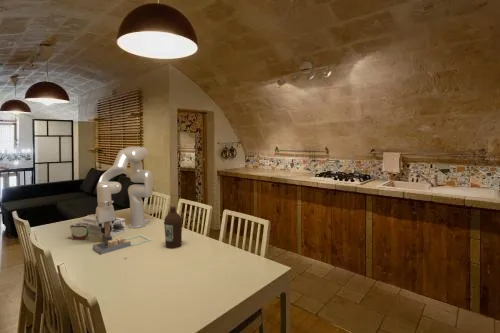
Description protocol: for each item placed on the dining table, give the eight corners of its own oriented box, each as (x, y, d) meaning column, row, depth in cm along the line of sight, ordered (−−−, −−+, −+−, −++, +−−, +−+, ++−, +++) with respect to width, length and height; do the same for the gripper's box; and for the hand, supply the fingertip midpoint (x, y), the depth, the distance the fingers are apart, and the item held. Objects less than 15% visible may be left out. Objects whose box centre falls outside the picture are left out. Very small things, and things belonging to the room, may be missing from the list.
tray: (140, 237, 187) (140, 234, 187) (151, 242, 178) (151, 239, 178) (121, 242, 178) (120, 239, 177) (131, 248, 169) (131, 245, 168)
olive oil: (173, 241, 180) (172, 203, 178) (186, 244, 175) (185, 205, 173) (160, 246, 171) (159, 206, 169) (173, 250, 166) (172, 208, 164)
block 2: (123, 243, 174) (122, 237, 173) (126, 244, 171) (125, 238, 171) (116, 245, 171) (116, 238, 170) (119, 246, 168) (119, 240, 168)
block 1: (114, 245, 170) (114, 239, 169) (117, 247, 167) (117, 240, 167) (108, 247, 167) (107, 240, 166) (110, 249, 164) (110, 242, 164)
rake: (107, 237, 180) (105, 220, 179) (112, 240, 175) (111, 222, 174) (102, 238, 178) (100, 221, 176) (107, 241, 173) (106, 223, 172)
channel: (121, 243, 177) (121, 237, 176) (130, 247, 169) (130, 241, 169) (92, 251, 164) (92, 244, 164) (101, 256, 157) (100, 249, 156)
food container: (94, 237, 188) (93, 222, 187) (88, 240, 182) (87, 225, 181) (77, 236, 189) (76, 222, 188) (70, 239, 183) (69, 224, 182)
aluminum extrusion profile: (107, 237, 189) (107, 222, 188) (79, 230, 203) (78, 217, 202) (125, 231, 202) (125, 217, 201) (97, 225, 215) (96, 212, 214)
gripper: (115, 200, 182) (117, 227, 185) (88, 205, 170) (90, 234, 172) (120, 202, 177) (122, 230, 180) (92, 207, 165) (95, 237, 167)
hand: (106, 232), depth 176 cm, fingers closed on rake, 3 cm apart
